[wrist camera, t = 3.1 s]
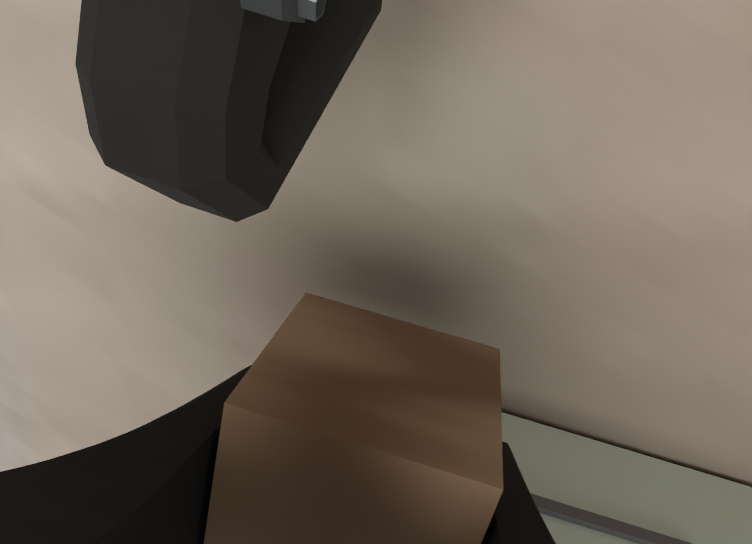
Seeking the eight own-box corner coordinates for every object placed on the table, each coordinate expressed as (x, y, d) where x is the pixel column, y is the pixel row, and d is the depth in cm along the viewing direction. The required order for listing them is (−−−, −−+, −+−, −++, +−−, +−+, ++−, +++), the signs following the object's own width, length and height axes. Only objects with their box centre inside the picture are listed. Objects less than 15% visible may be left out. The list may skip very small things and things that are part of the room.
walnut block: (499, 349, 13) (503, 489, 9) (444, 499, 15) (427, 673, 11) (305, 293, 13) (224, 402, 9) (275, 446, 15) (195, 595, 11)
